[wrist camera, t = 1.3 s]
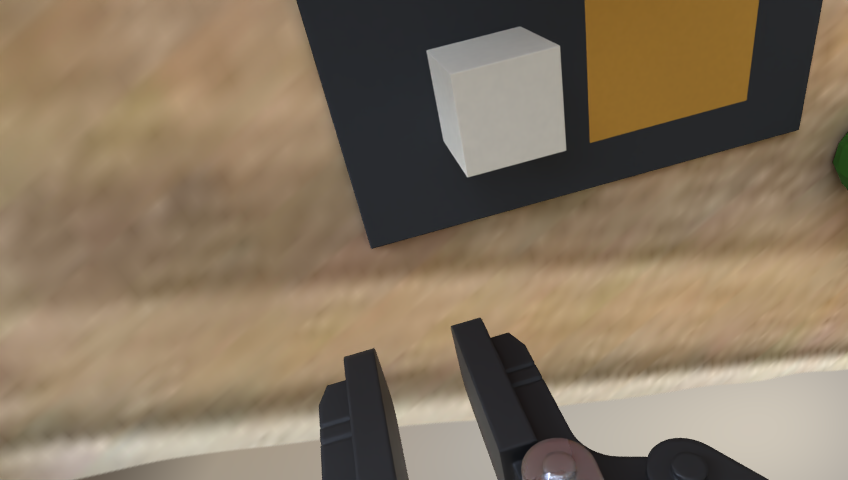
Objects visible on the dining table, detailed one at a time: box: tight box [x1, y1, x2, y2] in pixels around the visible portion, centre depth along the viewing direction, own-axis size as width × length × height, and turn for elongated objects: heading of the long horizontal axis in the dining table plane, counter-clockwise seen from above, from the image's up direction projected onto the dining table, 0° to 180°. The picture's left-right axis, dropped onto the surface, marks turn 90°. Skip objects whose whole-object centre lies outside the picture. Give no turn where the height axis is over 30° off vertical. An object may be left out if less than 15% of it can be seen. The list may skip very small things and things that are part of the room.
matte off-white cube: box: [426, 27, 566, 177], centre depth 27 cm, size 5×5×5 cm
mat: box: [297, 0, 823, 249], centre depth 30 cm, size 16×28×1 cm, turn 102°
